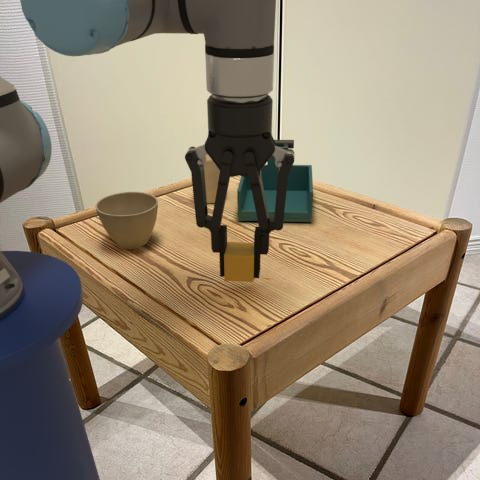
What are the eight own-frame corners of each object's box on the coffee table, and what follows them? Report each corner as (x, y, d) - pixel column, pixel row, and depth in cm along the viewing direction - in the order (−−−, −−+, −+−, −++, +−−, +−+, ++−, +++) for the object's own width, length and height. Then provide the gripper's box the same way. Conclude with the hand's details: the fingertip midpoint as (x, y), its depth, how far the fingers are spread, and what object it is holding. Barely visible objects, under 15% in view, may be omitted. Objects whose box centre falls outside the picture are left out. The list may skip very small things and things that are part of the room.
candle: (223, 192, 105) (221, 142, 99) (224, 203, 100) (222, 151, 94) (196, 193, 105) (192, 144, 99) (196, 204, 100) (192, 153, 94)
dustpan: (246, 184, 107) (245, 138, 102) (309, 185, 106) (312, 138, 100) (237, 220, 93) (236, 169, 87) (311, 221, 92) (314, 169, 86)
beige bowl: (118, 262, 82) (111, 221, 78) (93, 240, 88) (85, 200, 84) (173, 244, 86) (168, 204, 82) (145, 224, 93) (140, 186, 89)
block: (224, 280, 71) (223, 255, 68) (227, 266, 74) (227, 241, 72) (253, 282, 70) (253, 256, 68) (255, 267, 74) (256, 242, 71)
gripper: (314, 88, 61) (301, 261, 74) (172, 86, 62) (185, 256, 76) (316, 104, 55) (301, 289, 68) (158, 101, 56) (175, 283, 70)
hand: (240, 272), depth 72 cm, fingers closed on block, 4 cm apart
